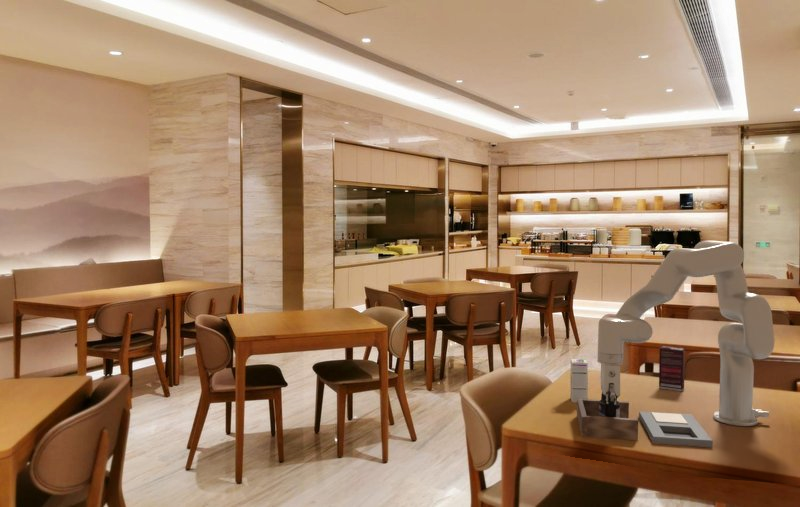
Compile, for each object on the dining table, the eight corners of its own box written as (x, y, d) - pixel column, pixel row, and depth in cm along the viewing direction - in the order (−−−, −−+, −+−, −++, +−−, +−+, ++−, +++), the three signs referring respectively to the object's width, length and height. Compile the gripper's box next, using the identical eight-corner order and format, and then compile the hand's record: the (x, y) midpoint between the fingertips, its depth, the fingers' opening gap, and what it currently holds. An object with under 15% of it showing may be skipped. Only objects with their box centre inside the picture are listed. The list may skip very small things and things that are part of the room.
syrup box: (588, 403, 218) (588, 362, 217) (570, 402, 219) (571, 362, 219) (586, 398, 224) (587, 359, 223) (569, 397, 225) (570, 358, 224)
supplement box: (684, 388, 237) (685, 348, 236) (682, 392, 232) (683, 350, 231) (660, 385, 241) (661, 345, 240) (658, 388, 237) (659, 347, 236)
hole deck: (691, 420, 200) (691, 413, 200) (712, 447, 177) (712, 439, 176) (638, 417, 203) (639, 410, 203) (653, 443, 180) (653, 435, 180)
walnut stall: (627, 419, 201) (628, 401, 200) (637, 440, 182) (638, 420, 182) (576, 416, 204) (577, 398, 204) (581, 436, 185) (581, 416, 185)
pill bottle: (594, 425, 195) (595, 391, 194) (611, 423, 197) (611, 389, 196) (606, 432, 189) (607, 396, 188) (623, 430, 191) (624, 395, 190)
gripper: (627, 364, 182) (625, 421, 183) (618, 352, 199) (617, 404, 200) (600, 363, 184) (598, 419, 185) (594, 351, 201) (592, 403, 202)
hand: (608, 411), depth 193 cm, fingers open, 9 cm apart
